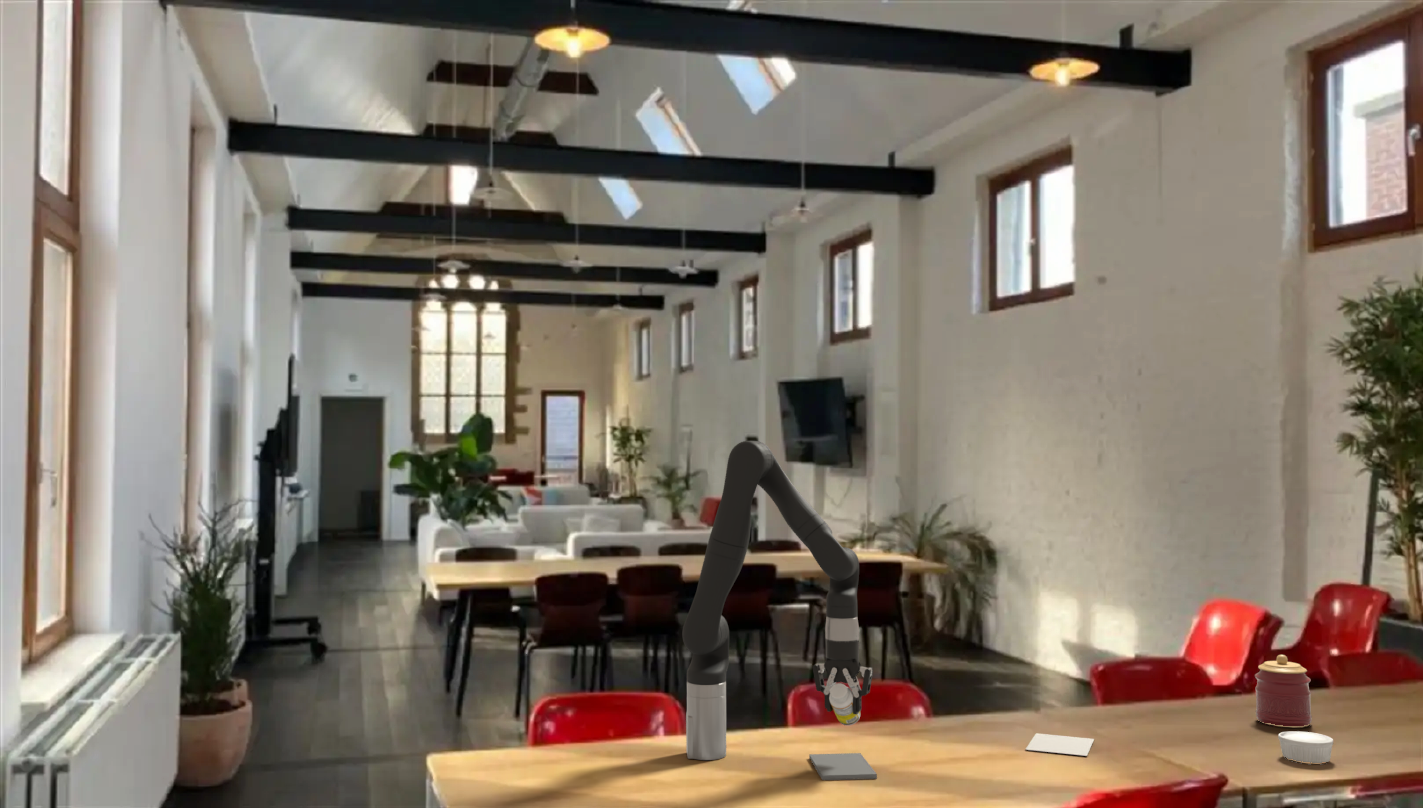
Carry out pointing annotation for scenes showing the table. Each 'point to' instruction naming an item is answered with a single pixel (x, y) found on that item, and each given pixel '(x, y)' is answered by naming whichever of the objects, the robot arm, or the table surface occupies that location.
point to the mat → (842, 766)
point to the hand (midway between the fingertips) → (843, 711)
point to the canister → (1283, 693)
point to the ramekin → (1306, 746)
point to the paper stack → (1060, 744)
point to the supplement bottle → (843, 704)
